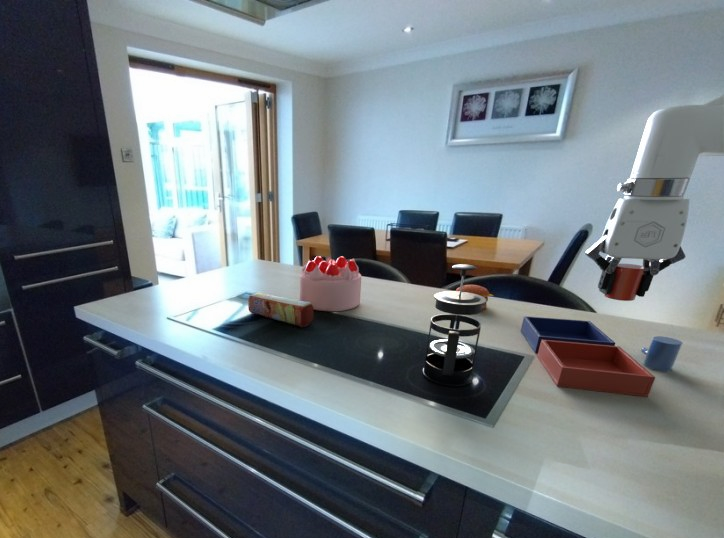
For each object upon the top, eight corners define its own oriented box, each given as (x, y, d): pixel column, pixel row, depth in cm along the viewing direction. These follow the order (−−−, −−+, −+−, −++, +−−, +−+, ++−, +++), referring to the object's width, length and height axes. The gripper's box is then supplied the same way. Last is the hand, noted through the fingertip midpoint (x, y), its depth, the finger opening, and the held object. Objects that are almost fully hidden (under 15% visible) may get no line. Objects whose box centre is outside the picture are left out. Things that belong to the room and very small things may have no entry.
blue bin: (585, 336, 97) (589, 320, 96) (609, 360, 85) (615, 343, 83) (520, 330, 101) (523, 316, 100) (534, 352, 89) (539, 336, 88)
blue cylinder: (676, 372, 79) (687, 345, 77) (649, 369, 80) (659, 343, 78) (653, 355, 86) (663, 330, 84) (629, 353, 88) (638, 328, 86)
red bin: (613, 363, 83) (619, 346, 82) (647, 397, 71) (655, 377, 69) (537, 356, 88) (541, 339, 86) (556, 386, 75) (562, 367, 74)
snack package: (246, 314, 119) (245, 293, 116) (261, 309, 124) (260, 288, 121) (300, 330, 106) (300, 306, 103) (315, 323, 110) (315, 300, 108)
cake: (370, 300, 129) (374, 257, 123) (337, 316, 115) (339, 269, 110) (322, 291, 141) (322, 251, 135) (287, 304, 127) (286, 261, 122)
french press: (425, 361, 86) (439, 258, 77) (471, 369, 83) (492, 261, 74) (419, 386, 77) (434, 270, 68) (471, 395, 73) (495, 274, 64)
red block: (639, 301, 71) (650, 269, 68) (610, 300, 72) (620, 267, 70) (618, 289, 78) (627, 259, 76) (592, 288, 80) (600, 258, 77)
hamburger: (492, 306, 120) (497, 286, 117) (475, 313, 115) (479, 291, 113) (464, 299, 127) (467, 280, 125) (446, 305, 122) (449, 285, 120)
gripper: (604, 191, 65) (574, 296, 72) (735, 190, 60) (689, 303, 67) (587, 189, 72) (561, 285, 79) (704, 188, 67) (665, 291, 74)
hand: (620, 292), depth 73 cm, fingers closed on red block, 4 cm apart
